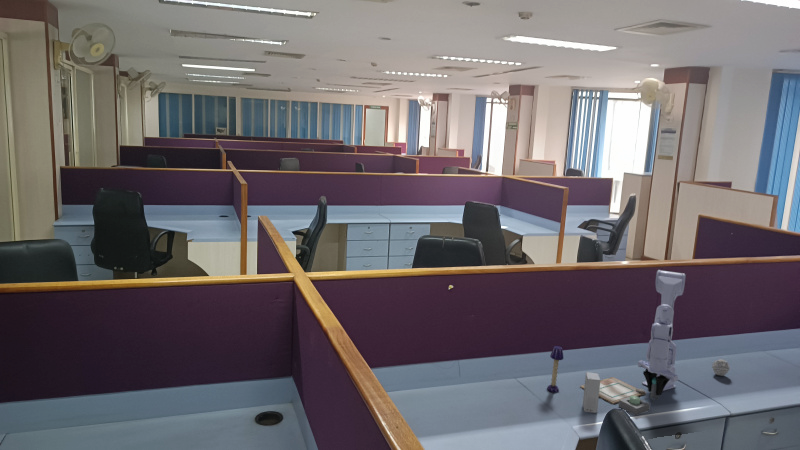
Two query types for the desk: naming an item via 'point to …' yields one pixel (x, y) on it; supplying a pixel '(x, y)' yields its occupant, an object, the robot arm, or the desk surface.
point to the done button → (634, 400)
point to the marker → (653, 389)
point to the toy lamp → (555, 367)
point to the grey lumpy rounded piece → (720, 367)
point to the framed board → (616, 390)
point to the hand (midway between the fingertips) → (654, 392)
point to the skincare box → (591, 392)
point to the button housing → (632, 408)
